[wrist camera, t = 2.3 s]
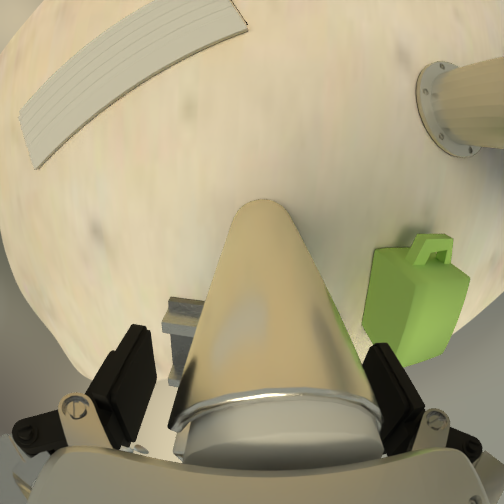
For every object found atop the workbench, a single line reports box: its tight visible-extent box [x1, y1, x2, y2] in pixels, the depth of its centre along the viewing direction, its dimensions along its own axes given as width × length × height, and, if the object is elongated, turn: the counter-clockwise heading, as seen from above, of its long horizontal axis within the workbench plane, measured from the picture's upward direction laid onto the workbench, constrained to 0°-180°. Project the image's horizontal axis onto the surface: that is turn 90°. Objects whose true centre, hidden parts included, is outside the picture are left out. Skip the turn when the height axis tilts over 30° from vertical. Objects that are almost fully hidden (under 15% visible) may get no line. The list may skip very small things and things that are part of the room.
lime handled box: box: [362, 234, 470, 367], centre depth 27 cm, size 18×10×10 cm, turn 2°
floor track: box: [162, 297, 205, 387], centre depth 32 cm, size 20×13×4 cm, turn 84°
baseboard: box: [18, 0, 248, 170], centre depth 21 cm, size 31×3×12 cm
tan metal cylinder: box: [168, 199, 384, 471], centre depth 17 cm, size 6×6×25 cm
